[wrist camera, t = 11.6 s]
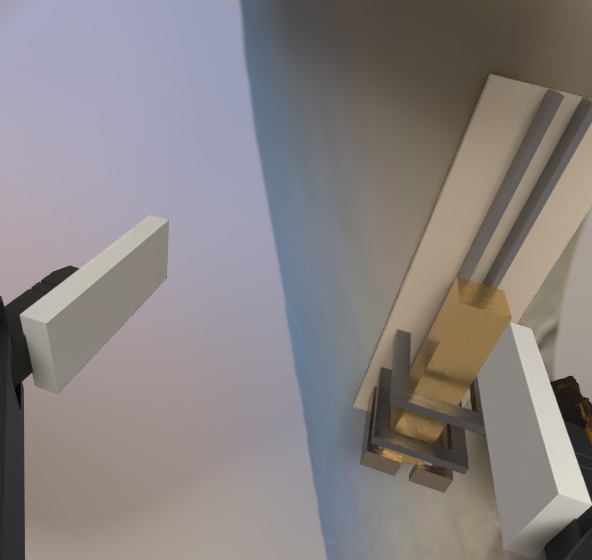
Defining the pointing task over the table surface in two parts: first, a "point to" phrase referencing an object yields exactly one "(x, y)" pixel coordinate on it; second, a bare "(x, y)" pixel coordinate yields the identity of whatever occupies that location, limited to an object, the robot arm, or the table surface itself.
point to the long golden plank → (452, 355)
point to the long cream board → (498, 209)
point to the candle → (573, 404)
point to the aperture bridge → (391, 462)
